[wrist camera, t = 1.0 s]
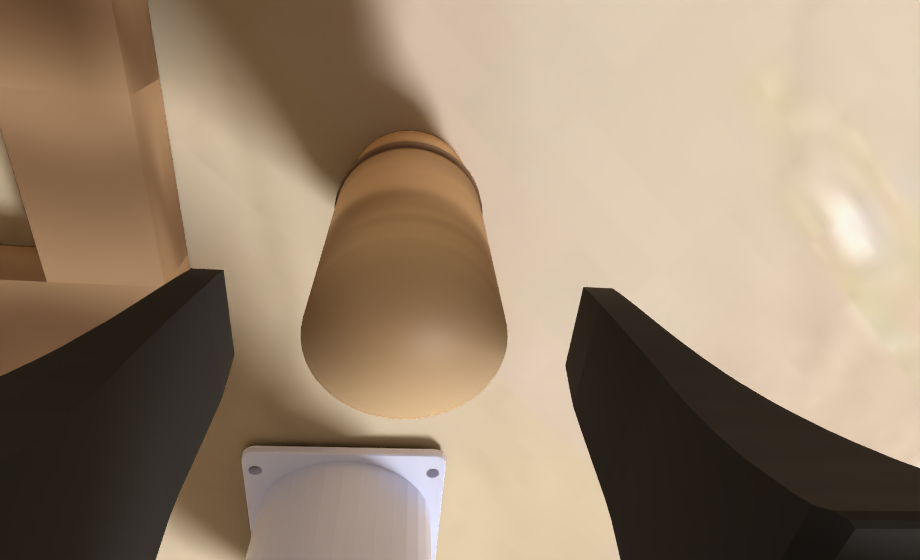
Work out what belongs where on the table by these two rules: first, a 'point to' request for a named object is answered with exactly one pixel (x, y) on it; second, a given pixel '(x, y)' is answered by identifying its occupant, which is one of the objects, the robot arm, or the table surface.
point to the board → (83, 170)
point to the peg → (405, 285)
